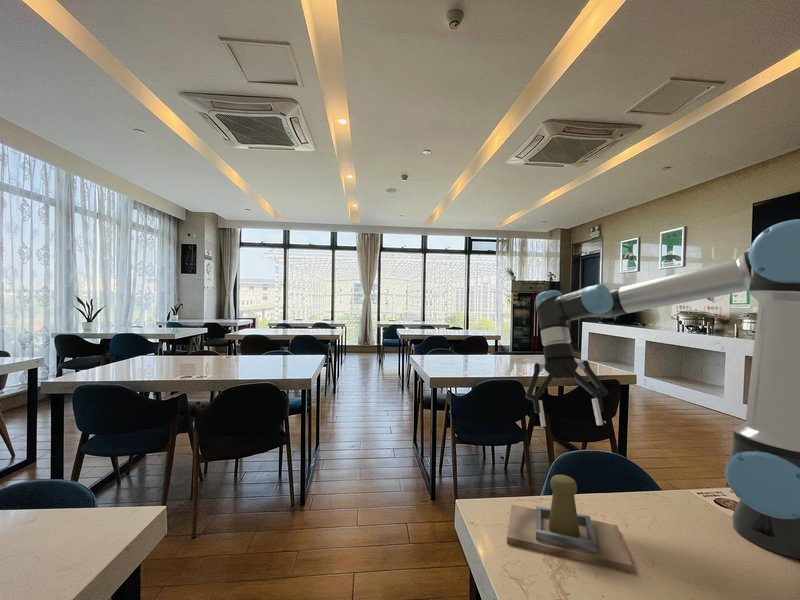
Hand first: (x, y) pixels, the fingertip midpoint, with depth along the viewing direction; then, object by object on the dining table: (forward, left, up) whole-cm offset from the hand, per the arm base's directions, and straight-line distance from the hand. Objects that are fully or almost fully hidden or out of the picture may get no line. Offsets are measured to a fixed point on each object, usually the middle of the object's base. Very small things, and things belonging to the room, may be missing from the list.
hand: (571, 425), depth 93 cm
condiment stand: (+3, +18, -18) cm, 26 cm away
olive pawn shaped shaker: (+3, +18, -17) cm, 25 cm away
